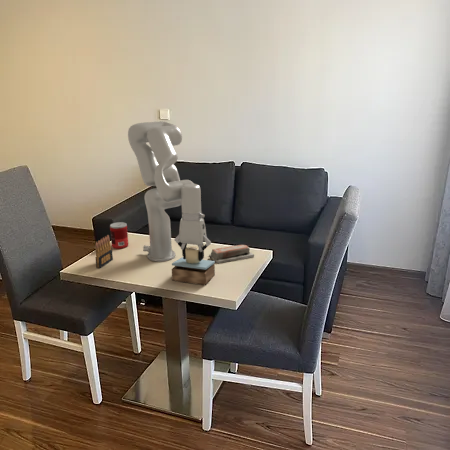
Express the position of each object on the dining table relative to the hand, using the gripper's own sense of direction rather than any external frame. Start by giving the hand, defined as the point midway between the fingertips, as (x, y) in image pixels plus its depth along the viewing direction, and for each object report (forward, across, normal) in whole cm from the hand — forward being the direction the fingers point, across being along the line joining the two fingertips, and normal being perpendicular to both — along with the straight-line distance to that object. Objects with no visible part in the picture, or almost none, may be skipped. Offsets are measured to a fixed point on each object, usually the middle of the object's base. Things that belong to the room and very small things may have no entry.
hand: (193, 258), depth 190 cm
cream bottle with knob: (+1, 0, 0) cm, 1 cm away
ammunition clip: (+9, +43, -2) cm, 44 cm away
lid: (+2, 0, 0) cm, 2 cm away
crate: (+8, 0, 0) cm, 8 cm away
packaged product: (+9, -7, -26) cm, 29 cm away
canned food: (+9, +48, -23) cm, 54 cm away
